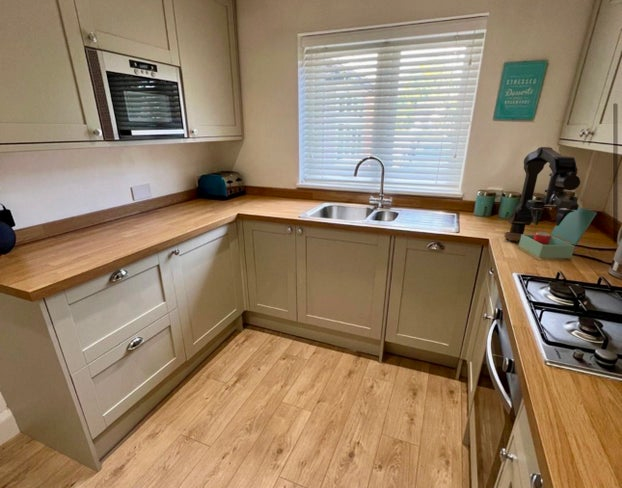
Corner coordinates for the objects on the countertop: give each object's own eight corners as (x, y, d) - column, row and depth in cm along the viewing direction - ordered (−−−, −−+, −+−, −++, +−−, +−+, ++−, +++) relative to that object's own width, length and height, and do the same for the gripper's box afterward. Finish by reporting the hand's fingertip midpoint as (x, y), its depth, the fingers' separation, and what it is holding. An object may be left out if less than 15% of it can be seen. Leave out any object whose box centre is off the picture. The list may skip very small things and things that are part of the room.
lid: (595, 212, 131) (597, 212, 131) (568, 203, 144) (570, 204, 145) (574, 244, 136) (576, 245, 136) (550, 233, 150) (552, 234, 150)
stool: (499, 239, 162) (501, 232, 161) (517, 239, 163) (519, 232, 161) (509, 245, 154) (511, 238, 153) (528, 245, 154) (530, 238, 153)
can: (526, 249, 148) (532, 231, 145) (540, 249, 148) (545, 231, 145) (535, 253, 142) (540, 235, 139) (549, 254, 142) (554, 236, 139)
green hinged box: (538, 259, 139) (542, 245, 136) (518, 247, 152) (521, 234, 150) (570, 260, 139) (575, 246, 136) (547, 247, 152) (551, 234, 150)
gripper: (547, 189, 128) (537, 228, 133) (594, 191, 128) (583, 230, 133) (529, 186, 139) (520, 223, 143) (572, 188, 139) (562, 224, 144)
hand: (546, 225), depth 140 cm, fingers open, 9 cm apart
